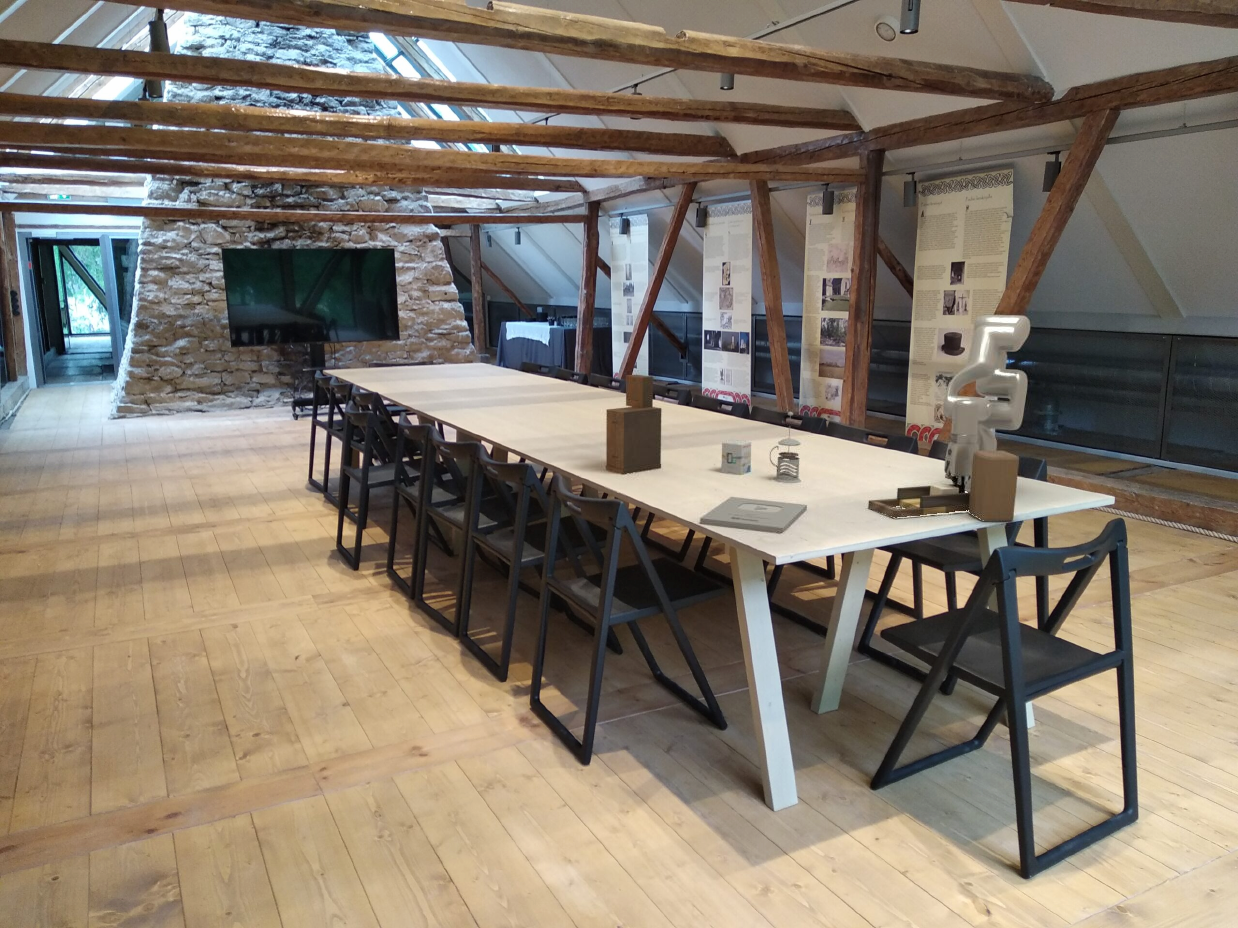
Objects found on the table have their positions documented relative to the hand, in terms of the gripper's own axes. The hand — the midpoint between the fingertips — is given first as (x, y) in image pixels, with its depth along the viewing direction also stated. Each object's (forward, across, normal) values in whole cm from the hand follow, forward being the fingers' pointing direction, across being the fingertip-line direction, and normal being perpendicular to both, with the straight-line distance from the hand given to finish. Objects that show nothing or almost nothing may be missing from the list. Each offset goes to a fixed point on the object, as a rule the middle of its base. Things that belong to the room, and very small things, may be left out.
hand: (958, 496), depth 273 cm
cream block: (+1, -5, 0) cm, 5 cm away
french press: (+4, -33, +52) cm, 62 cm away
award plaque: (+5, -67, +9) cm, 68 cm away
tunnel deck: (+4, -11, 0) cm, 11 cm away
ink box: (+4, -44, +70) cm, 83 cm away
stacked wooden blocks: (+4, -78, +88) cm, 118 cm away
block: (+4, +1, -14) cm, 14 cm away
